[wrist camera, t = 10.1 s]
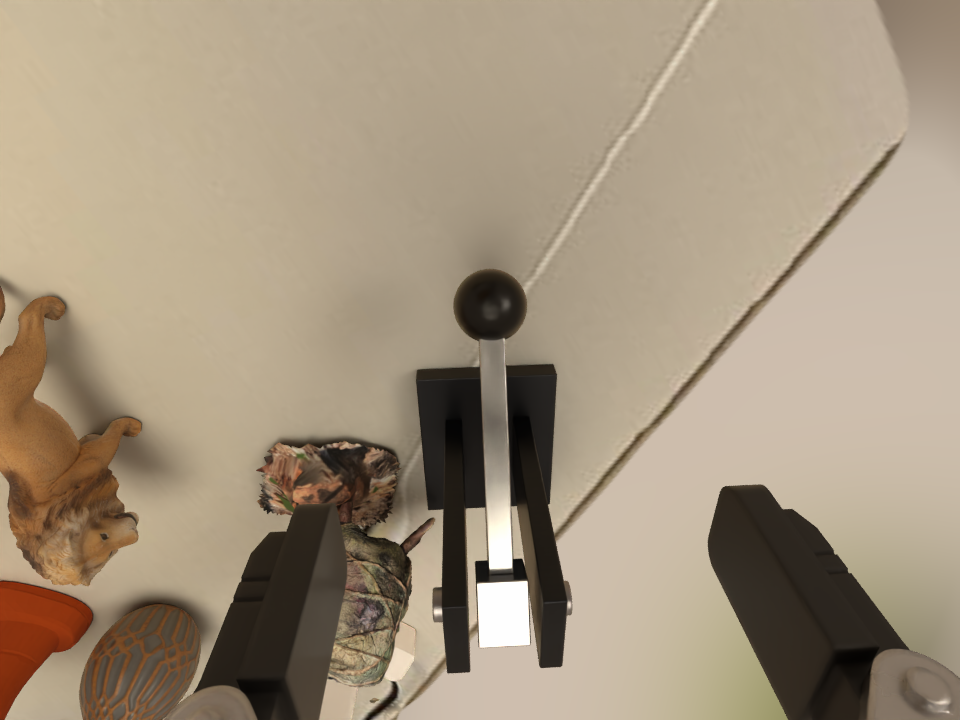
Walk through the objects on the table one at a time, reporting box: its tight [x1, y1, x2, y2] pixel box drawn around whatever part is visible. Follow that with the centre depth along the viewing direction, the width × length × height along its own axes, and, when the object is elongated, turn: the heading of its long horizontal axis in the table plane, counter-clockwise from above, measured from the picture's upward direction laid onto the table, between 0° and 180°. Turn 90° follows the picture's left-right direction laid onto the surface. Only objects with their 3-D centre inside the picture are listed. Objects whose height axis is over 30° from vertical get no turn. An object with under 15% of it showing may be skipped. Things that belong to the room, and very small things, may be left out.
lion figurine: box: [0, 286, 141, 586], centre depth 28 cm, size 15×5×9 cm, turn 20°
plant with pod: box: [256, 441, 435, 703], centre depth 28 cm, size 8×11×20 cm
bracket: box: [416, 364, 572, 673], centre depth 29 cm, size 10×8×14 cm
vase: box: [79, 604, 201, 720], centre depth 38 cm, size 7×7×9 cm
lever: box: [454, 269, 531, 648], centre depth 24 cm, size 16×3×3 cm, turn 2°
